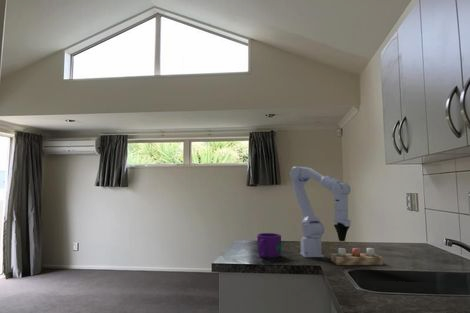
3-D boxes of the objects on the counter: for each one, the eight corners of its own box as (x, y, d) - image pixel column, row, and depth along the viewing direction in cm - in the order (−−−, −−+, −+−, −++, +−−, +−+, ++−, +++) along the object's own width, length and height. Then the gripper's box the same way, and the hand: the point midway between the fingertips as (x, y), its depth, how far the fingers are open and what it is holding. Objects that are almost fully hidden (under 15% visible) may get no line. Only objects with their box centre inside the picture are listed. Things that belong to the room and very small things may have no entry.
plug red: (354, 256, 145) (354, 249, 145) (351, 255, 148) (351, 248, 148) (361, 256, 145) (361, 249, 145) (358, 255, 148) (358, 247, 148)
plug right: (368, 256, 145) (368, 249, 145) (365, 255, 148) (365, 247, 149) (375, 256, 145) (375, 249, 146) (372, 255, 148) (372, 247, 149)
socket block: (337, 265, 141) (337, 257, 142) (331, 260, 149) (331, 253, 150) (383, 264, 143) (382, 257, 143) (374, 260, 151) (373, 253, 151)
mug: (263, 252, 166) (263, 232, 166) (284, 255, 160) (284, 234, 161) (247, 259, 150) (247, 237, 151) (271, 262, 145) (271, 239, 146)
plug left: (339, 257, 144) (339, 249, 144) (337, 255, 147) (337, 248, 148) (347, 256, 144) (346, 249, 145) (344, 255, 148) (344, 248, 148)
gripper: (357, 211, 140) (357, 243, 139) (343, 208, 155) (344, 238, 154) (341, 211, 140) (341, 243, 139) (328, 208, 154) (329, 238, 153)
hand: (341, 240), depth 146 cm, fingers closed
